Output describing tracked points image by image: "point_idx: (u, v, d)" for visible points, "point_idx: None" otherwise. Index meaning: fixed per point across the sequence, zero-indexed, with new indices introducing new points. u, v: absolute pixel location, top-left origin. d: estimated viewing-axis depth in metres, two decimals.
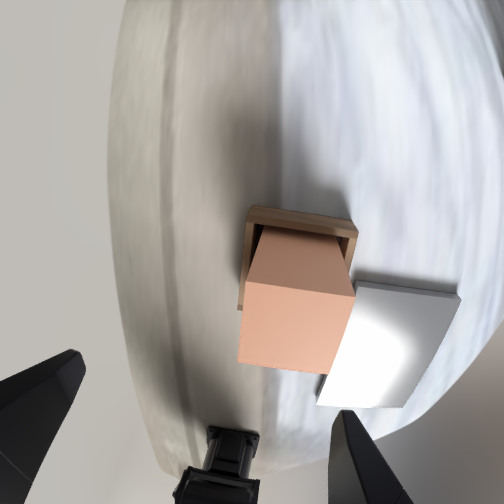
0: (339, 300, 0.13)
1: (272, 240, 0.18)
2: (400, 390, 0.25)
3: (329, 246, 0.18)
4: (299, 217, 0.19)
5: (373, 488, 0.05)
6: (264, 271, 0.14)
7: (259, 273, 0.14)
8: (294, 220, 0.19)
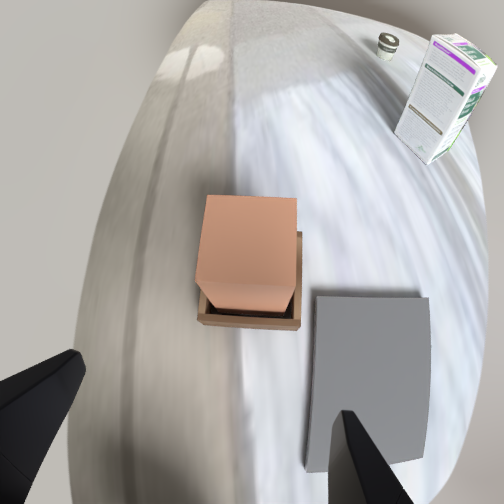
0: (283, 202, 0.16)
1: None
2: (410, 430, 0.18)
3: None
4: None
5: (373, 488, 0.05)
6: None
7: None
8: None
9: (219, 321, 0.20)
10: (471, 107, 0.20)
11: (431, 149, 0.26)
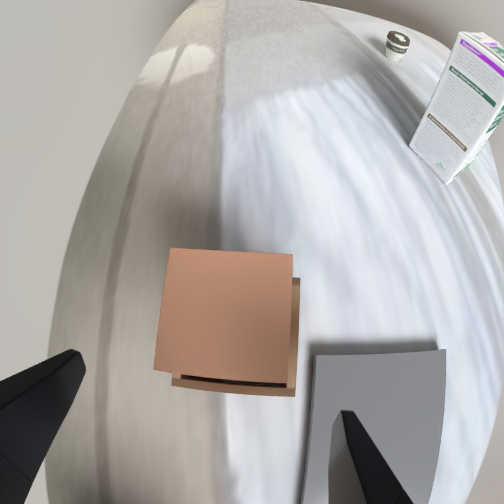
0: (274, 260, 0.12)
1: None
2: (413, 492, 0.13)
3: None
4: None
5: (373, 488, 0.05)
6: None
7: None
8: None
9: (197, 388, 0.16)
10: (499, 119, 0.16)
11: (452, 167, 0.22)
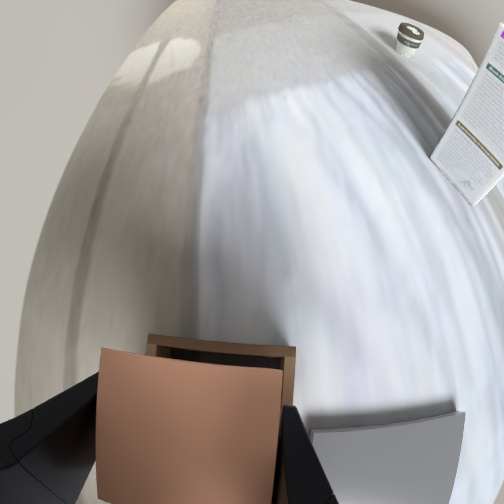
0: (253, 380, 0.07)
1: (175, 359, 0.12)
2: None
3: None
4: None
5: (298, 488, 0.05)
6: (139, 354, 0.08)
7: None
8: (208, 341, 0.14)
9: None
10: None
11: (482, 187, 0.17)
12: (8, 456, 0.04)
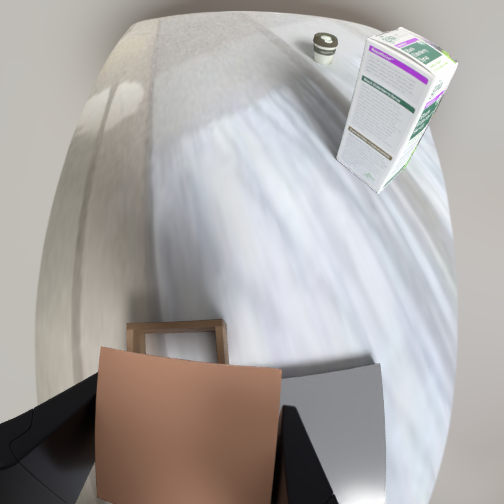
0: (252, 379, 0.07)
1: None
2: (366, 493, 0.16)
3: None
4: None
5: (298, 488, 0.05)
6: (138, 353, 0.08)
7: None
8: None
9: None
10: (427, 120, 0.19)
11: (381, 176, 0.24)
12: (8, 456, 0.04)
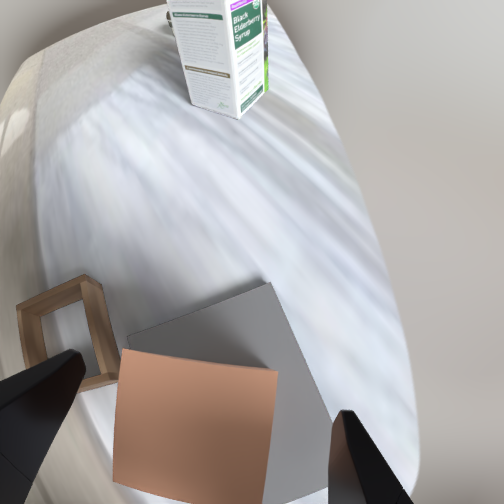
0: (253, 379, 0.08)
1: (184, 358, 0.14)
2: (315, 451, 0.15)
3: None
4: None
5: (373, 488, 0.05)
6: (154, 354, 0.10)
7: None
8: None
9: None
10: (253, 26, 0.18)
11: (231, 100, 0.23)
12: None
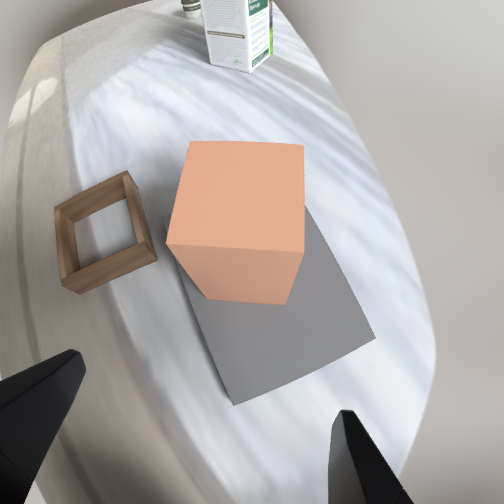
0: (287, 148, 0.12)
1: None
2: (335, 310, 0.18)
3: None
4: None
5: (373, 488, 0.05)
6: None
7: None
8: None
9: (78, 277, 0.18)
10: (262, 1, 0.22)
11: (245, 56, 0.27)
12: None
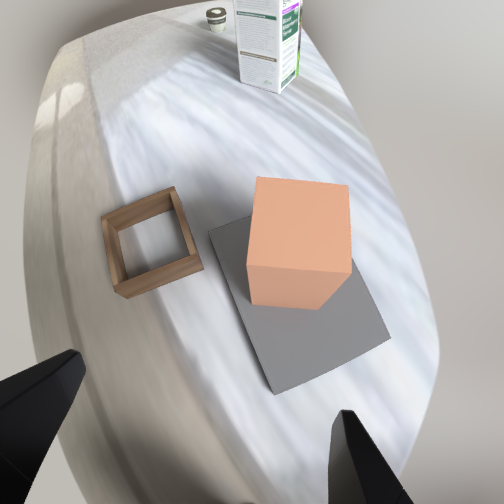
0: (335, 188, 0.15)
1: None
2: (359, 315, 0.22)
3: None
4: None
5: (373, 488, 0.05)
6: None
7: None
8: None
9: (131, 284, 0.22)
10: (293, 26, 0.25)
11: (275, 78, 0.30)
12: None
